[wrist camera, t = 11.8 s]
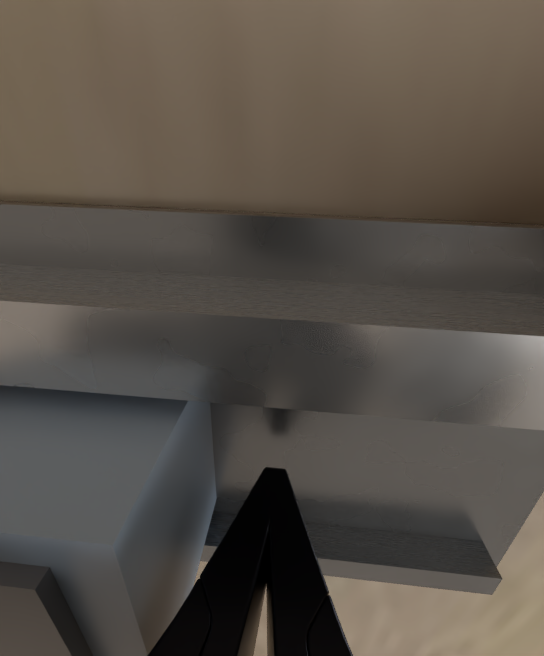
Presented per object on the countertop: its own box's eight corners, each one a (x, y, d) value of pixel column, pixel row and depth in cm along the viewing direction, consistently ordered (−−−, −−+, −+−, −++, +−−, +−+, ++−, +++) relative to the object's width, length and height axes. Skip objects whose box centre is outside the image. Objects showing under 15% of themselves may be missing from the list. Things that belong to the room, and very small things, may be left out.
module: (207, 363, 9) (100, 568, 4) (216, 498, 11) (157, 722, 7) (15, 349, 9) (-287, 522, 4) (65, 483, 12) (-94, 685, 7)
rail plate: (652, 229, 7) (992, 270, 4) (478, 547, 13) (548, 687, 9) (-103, 196, 9) (-396, 203, 5) (34, 499, 14) (-57, 607, 11)
